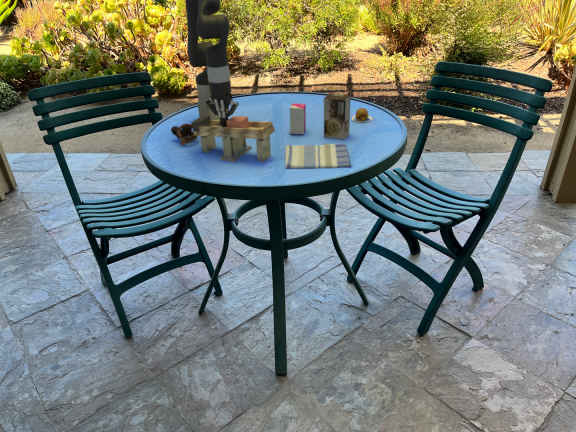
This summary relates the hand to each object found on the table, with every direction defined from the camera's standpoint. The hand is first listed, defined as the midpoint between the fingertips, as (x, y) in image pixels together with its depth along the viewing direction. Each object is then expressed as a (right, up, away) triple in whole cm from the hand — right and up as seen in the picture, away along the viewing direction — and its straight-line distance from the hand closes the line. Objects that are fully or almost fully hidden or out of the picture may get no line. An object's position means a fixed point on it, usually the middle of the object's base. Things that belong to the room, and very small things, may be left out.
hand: (224, 126), depth 154 cm
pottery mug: (-18, -2, +17) cm, 25 cm away
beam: (+3, -2, 0) cm, 4 cm away
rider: (+5, -1, -2) cm, 6 cm away
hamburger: (+56, +9, +30) cm, 64 cm away
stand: (+4, -9, +5) cm, 11 cm away
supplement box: (+27, +2, +20) cm, 34 cm away
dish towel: (+34, -12, -1) cm, 36 cm away
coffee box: (+43, 0, +16) cm, 46 cm away
